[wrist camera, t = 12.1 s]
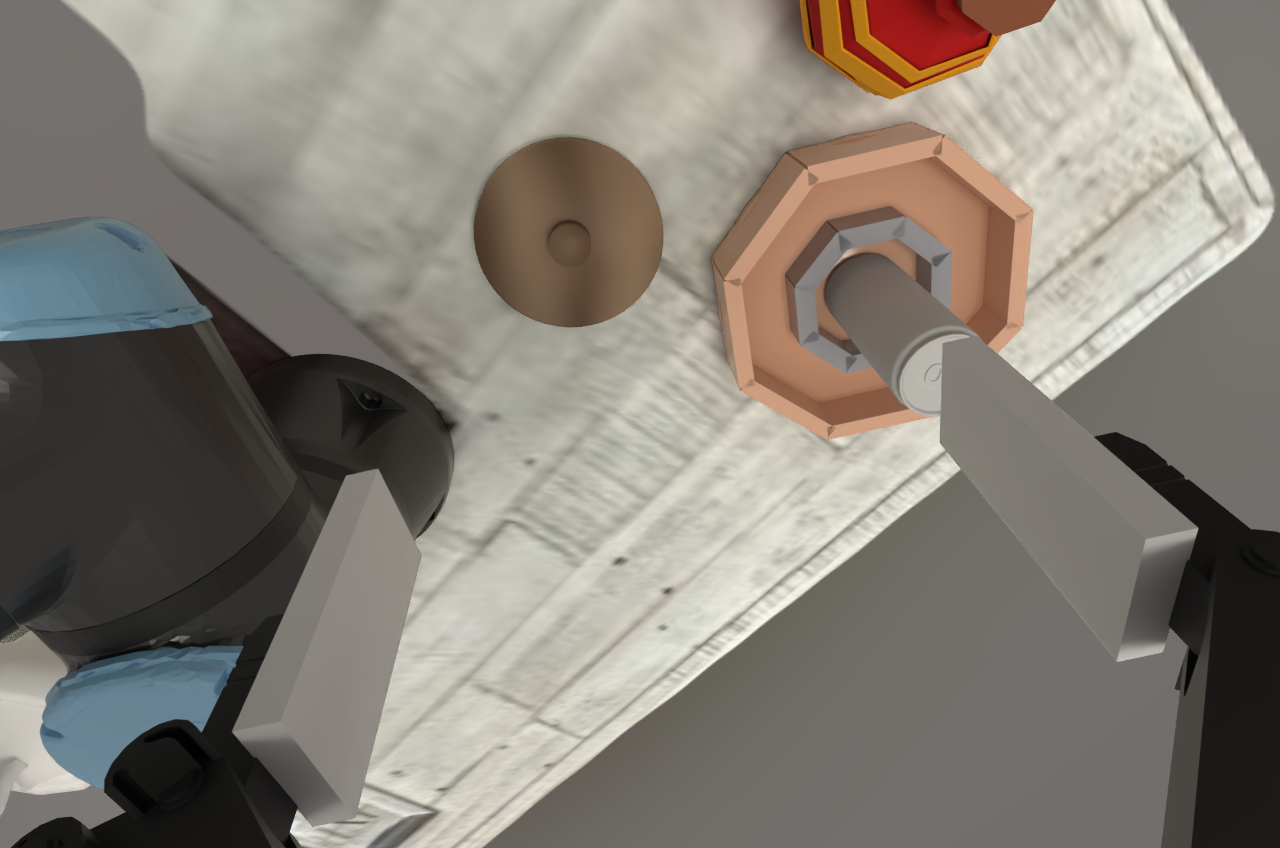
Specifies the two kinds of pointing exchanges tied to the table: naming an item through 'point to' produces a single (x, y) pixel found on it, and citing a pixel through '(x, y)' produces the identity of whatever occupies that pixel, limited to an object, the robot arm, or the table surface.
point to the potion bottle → (910, 37)
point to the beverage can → (895, 327)
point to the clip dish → (854, 226)
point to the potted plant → (28, 720)
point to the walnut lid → (568, 232)
